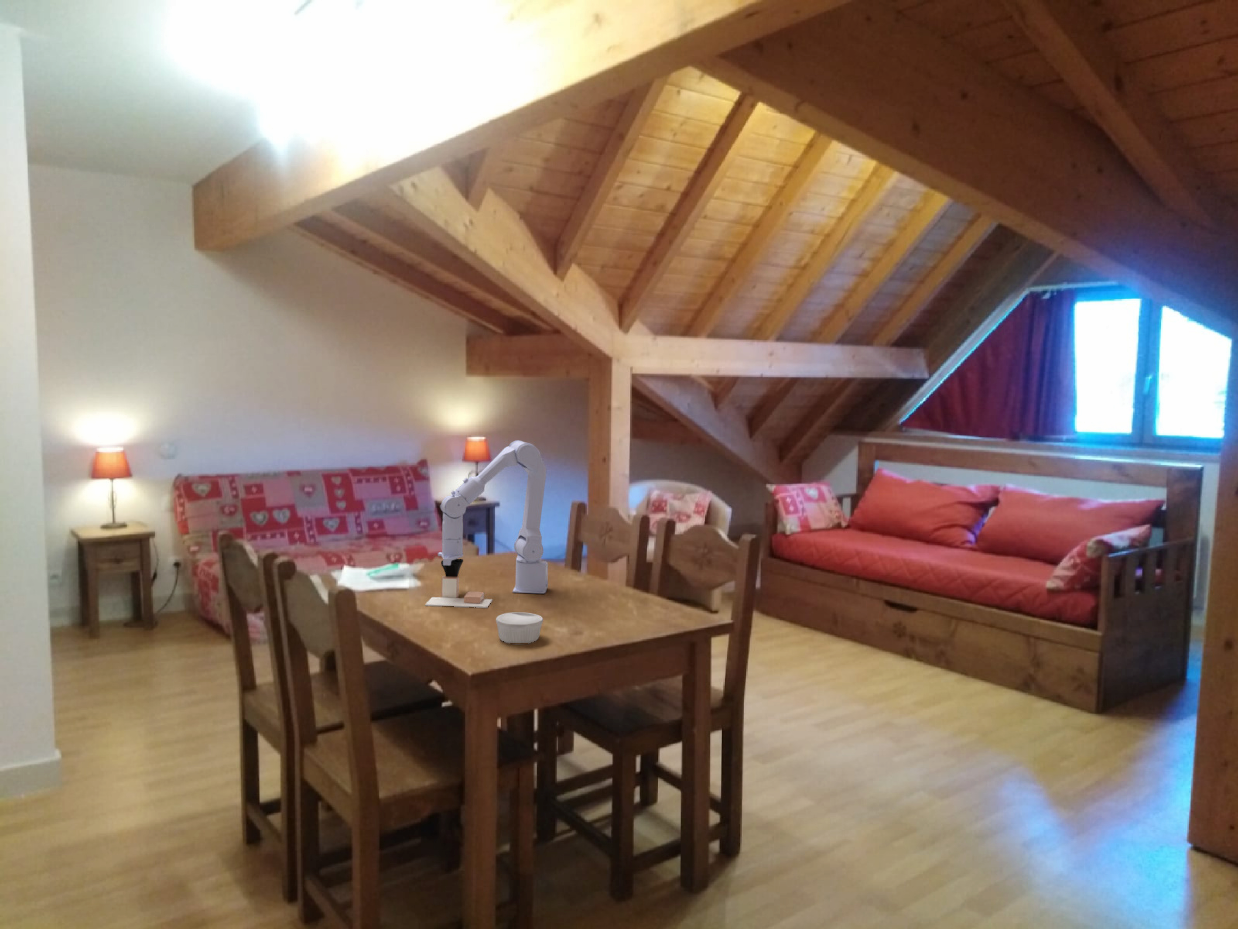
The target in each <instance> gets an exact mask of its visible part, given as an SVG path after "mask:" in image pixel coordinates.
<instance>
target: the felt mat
mask: <svg viewBox="0 0 1238 929" xmlns="http://www.w3.org/2000/svg"><path fill="white" fill-rule="evenodd" d="M492 602H493V599H492V598H491V599H490V598H489V599H488V598H483V600H482V601H481V603H464V597H458V598H442V597H441V596H438V597H436V596H431V598H429V600H427V601H426V603H424V604H425V605H424V606H426V607H442V606H454V607H453V608H469V607H474V608H473V609H488V608H489V607H488V606H490V605H491V604H492ZM490 603H491V604H490ZM475 607H476V608H475Z"/></svg>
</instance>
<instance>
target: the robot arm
mask: <svg viewBox="0 0 1238 929" xmlns="http://www.w3.org/2000/svg"><path fill="white" fill-rule="evenodd" d="M519 465H520V466H521V467H522V468H523V470H524V471H525V472H526V473H527V482H526V490H525V497H524V505H523V507H524V508H523V515H522V523H521V524H522V525H521V528H520V529H519V531H518V535H517V538H516V540H515V542H514V544H513V546H514V547H513V548H514V549H513V550H514V552H515V553H516V554H517V556H516V559H515V585H514V587H513V589H512V593H519V594H522V593H524V594H546V592H547V590H548V586H549V580H548V579H549V578H548V576H549V575H548V574H549V573H548V572H549V566H548V565H549V563H548V561H546V560H542V557H543V554H544V547H543V544H542V543H543V542H542V538H543V537H542V534H541V530H540V528H541V519H542V511H543V503H544V495H545V486H546V478H547V467H546V465H545V462H544V460H543V458H542V456H541V451H540V450H539V449H538V448H537V447H536V446H535V445H534V444H533V443H530V442H525V441H522V440H520V439H519V440H518V439H517V440H514V441H512V442H510V443H509V446H506V447H504V448H503V449H502V450H501V451H500V452H499V453H498V454H497V455H496V457H494V458H493V459H492V460H491V462H489V464H487V466H486V467H485V468H484V469H482V471H480V473H479V474H478V475H477V476H469V477H468V478H467V477H465V478H464V479H463V480H462V481H463V483H462V484H460V485H459V486H458V487H457V488H456V489H455V490H451V491H450V494H451V495H447V496H445V497H444V498H442V501H441V504H440V505H439V508H440V510H441V511H442V523H441V524H442V526H441V528H442V529H441V530H442V531H441V533H442V534H441V538H442V539H441V543H442V544H441V548H442V549H441V551H440V552H437V556H438V557H441V558H442V560H441V561H440V566H441V567H442V568H443V572H444V574H445V575H444V576H452V577H459V573H460V569H461V567H462V564H463V563H464V559H463V557H464V553H463V552H464V551H463V550H464V549H463V547H464V546H463V545H464V543H463V542H464V537H463V536H464V535H463V534H464V522H463V520H464V519H463V516H464V514H466V510H467V507H469V506H470V505H471V504H472V503H473V502H475V500H476V499H478V498H479V496H480V495H482V494H483V493H484V492H485V486H486V485H487V483H489V482H490V481H491V480H492V479H494V478H495V477H496V476H497V475H498V474H499V473H501V472H502V471H503V470H504V469H506V468H508V467H515V466H519Z"/></svg>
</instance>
